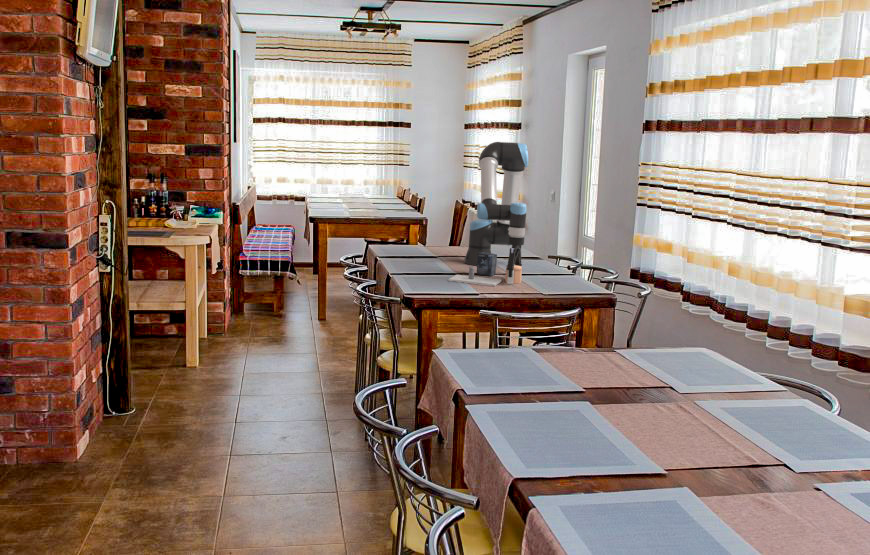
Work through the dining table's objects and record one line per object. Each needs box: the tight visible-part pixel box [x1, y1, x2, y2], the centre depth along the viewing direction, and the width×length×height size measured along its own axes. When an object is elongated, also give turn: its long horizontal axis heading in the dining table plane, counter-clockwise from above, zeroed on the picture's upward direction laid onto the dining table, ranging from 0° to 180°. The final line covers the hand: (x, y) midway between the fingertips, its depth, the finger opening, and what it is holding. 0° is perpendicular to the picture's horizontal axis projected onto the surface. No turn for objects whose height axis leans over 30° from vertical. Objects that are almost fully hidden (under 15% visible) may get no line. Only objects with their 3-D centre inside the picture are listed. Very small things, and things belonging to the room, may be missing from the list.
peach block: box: [504, 265, 523, 285], centre depth 397 cm, size 7×7×8 cm
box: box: [476, 252, 498, 277], centre depth 411 cm, size 8×6×11 cm
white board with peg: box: [448, 266, 503, 287], centre depth 393 cm, size 13×22×6 cm, turn 72°
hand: (513, 281), depth 397 cm, fingers open, 12 cm apart
